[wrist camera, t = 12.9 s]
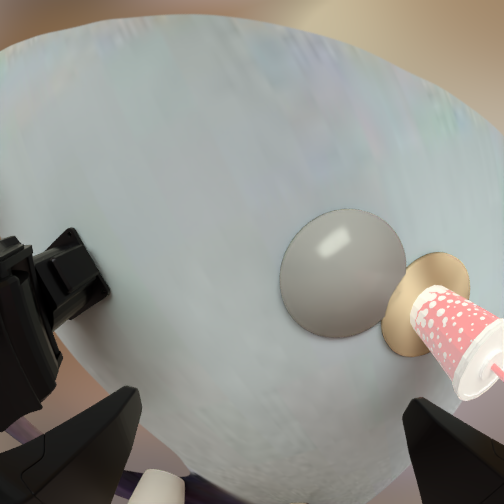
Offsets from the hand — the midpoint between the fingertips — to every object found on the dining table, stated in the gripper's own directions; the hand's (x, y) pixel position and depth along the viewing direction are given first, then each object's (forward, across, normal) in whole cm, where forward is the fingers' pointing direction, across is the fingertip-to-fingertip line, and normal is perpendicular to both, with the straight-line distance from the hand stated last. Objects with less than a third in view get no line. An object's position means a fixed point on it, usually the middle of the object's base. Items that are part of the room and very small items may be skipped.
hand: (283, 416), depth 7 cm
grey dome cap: (+13, -6, 0) cm, 14 cm away
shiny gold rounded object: (+13, -15, +2) cm, 20 cm away
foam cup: (+13, +11, +35) cm, 39 cm away
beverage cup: (+13, -15, +2) cm, 19 cm away
